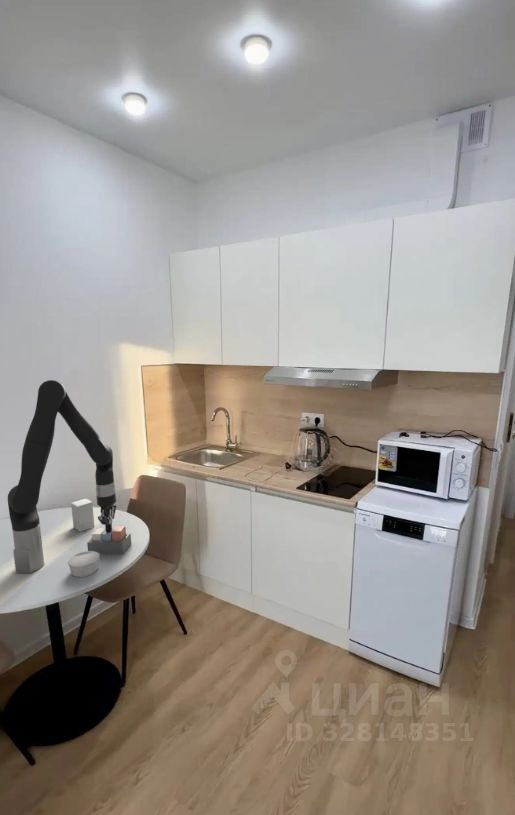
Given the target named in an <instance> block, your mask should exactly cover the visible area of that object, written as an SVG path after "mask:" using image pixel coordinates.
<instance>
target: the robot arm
mask: <svg viewBox="0 0 515 815" xmlns="http://www.w3.org/2000/svg"><path fill="white" fill-rule="evenodd" d="M58 413H59V414H60V416H61V417H62V418H63V420H64V421H65V423H66V425H67V426H68V427H69V429H70V430H71V431H72V433H73V435H74V436H75V437H76V438H77V439H78V441H79V442H80V443H81V444H82V445H83V447H84V448H85V450H86V452H87V454H88V456H89V457H90V459H91V460H92V461H93V462H94V463H95V467H96V469H95V473H94V475H95V494H96V504H97V506H99V507H100V515H99V516H97V519H98V521H99V522H100V524H101V525H104V526H105V528H104V529H106V532H111V531H112V529H113V520H114V519H115V516H116V511H117V505H116V503H117V496H116V495H117V494H116V485H115V478H114V469H113V467H114V463H113V462H114V457H113V456H114V454H113V450H112V448H111V446H110V445H108V444H104V443H103V442H102V441H101V438H100V436H99V434H98V432H97V431H96V430H95V428H94V427H93V426H92V424H91V423H90V422H89V421H88V420H87V419H86V417H84V415H83V414H82V413H81V412H80V411H79V410H78V409H77V407H76V406H75V404H74V403H73V401H72V400H71V397H70V396H69V395H68V392H67V391H66V387H65V386H64V384H62V383H61V382H60V381H58V380H53V379H50V380H49V379H48V380H46V381H43V382H42V383H41V384H40V386H39V387H38V389H37V399H36V405H35V410H34V415H33V418H32V420H31V423H30V425H29V428H28V431H27V433H26V437H25V439H24V440H25V441H24V444H23V447H22V451H21V465H20V466H21V470H20V477H19V480H18V484H16V485H14V486H13V487H12V488H11V489H10V490H9V492H8V494H7V504H8V513H9V514H8V515H9V519H10V523H11V529H12V538H13V546H14V547H13V548H14V549H13V552H12V553H13V559H14V568H15V573H16V574H32V573H33V572H35V571H38V570H39V569H40V570H41V568H42V567H43V566H44V565H45V559H44V551H43V550H44V549H43V540H42V532H41V522H40V515H39V513H38V509H37V505H38V502H39V498H40V492H41V486H42V479H43V476H44V472H45V470H46V468H47V467H46V466H47V463H48V460H49V456H50V453H51V449H52V446H53V443H54V442H53V441H54V438H55V437H54V436H55V429H56V419H57V415H58Z"/></svg>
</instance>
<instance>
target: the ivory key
mask: <svg viewBox="0 0 515 815" xmlns="http://www.w3.org/2000/svg"><path fill="white" fill-rule="evenodd" d="M105 530H106V528H101V527H100V528H96V529H95V530H94V531H93V532H92V533H91V538H92V541H102V534H103V533H104V531H105Z"/></svg>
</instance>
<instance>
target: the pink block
mask: <svg viewBox="0 0 515 815" xmlns="http://www.w3.org/2000/svg"><path fill="white" fill-rule="evenodd" d="M112 529H113V530H112V540H113V541H123V539H124V538H125V537H126V533H127V530H126V529H127V528H126V525H116V526H115V527H114V528H112Z"/></svg>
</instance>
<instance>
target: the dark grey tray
mask: <svg viewBox="0 0 515 815" xmlns="http://www.w3.org/2000/svg"><path fill="white" fill-rule="evenodd" d="M130 544H131V545H132V533H131V532H126V537H125V538H124V539H123V541H92V537H91V538H90V539H89V540H88V541H87V543H86V545H87V551H95V552H97V553H99V555H121V554H123V555H124V554H125V553H126V551H127V550H128V549H127V548H130V546H131V545H130Z"/></svg>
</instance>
